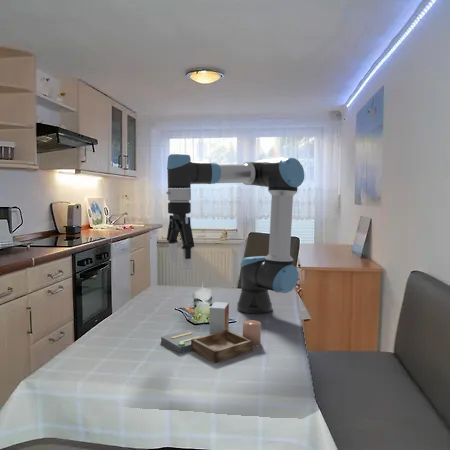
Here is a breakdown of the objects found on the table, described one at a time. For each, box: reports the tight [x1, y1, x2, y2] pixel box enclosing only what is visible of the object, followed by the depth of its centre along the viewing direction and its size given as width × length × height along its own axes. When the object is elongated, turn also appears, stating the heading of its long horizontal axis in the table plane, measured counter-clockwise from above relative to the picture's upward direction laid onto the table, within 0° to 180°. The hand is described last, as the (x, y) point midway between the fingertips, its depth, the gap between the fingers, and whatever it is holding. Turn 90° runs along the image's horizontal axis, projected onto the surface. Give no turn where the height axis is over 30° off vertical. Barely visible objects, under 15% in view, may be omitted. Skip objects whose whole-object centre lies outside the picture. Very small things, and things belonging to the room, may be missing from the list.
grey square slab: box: [160, 329, 204, 354], centre depth 137 cm, size 12×12×3 cm
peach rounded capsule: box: [242, 319, 262, 347], centre depth 138 cm, size 6×6×7 cm
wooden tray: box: [191, 330, 254, 364], centre depth 131 cm, size 15×13×4 cm
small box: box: [208, 301, 230, 334], centre depth 146 cm, size 8×6×10 cm
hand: (179, 265), depth 136 cm, fingers open, 13 cm apart
